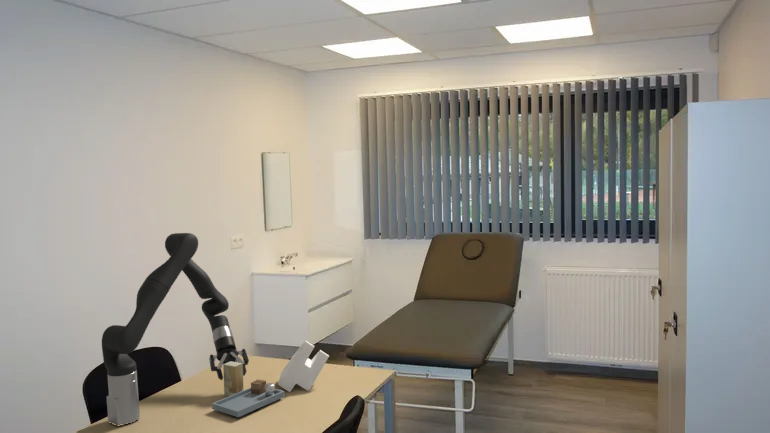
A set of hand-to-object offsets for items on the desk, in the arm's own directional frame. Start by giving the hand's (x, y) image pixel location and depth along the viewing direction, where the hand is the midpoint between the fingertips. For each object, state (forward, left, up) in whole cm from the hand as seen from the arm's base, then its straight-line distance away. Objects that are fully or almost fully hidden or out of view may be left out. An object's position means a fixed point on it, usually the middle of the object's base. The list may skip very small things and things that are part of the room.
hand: (233, 376), depth 228 cm
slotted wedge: (+22, -16, -7) cm, 28 cm away
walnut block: (+3, -10, -5) cm, 12 cm away
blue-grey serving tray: (-4, -13, -7) cm, 16 cm away
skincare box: (0, 0, -7) cm, 7 cm away
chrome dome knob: (+3, -16, -5) cm, 17 cm away
